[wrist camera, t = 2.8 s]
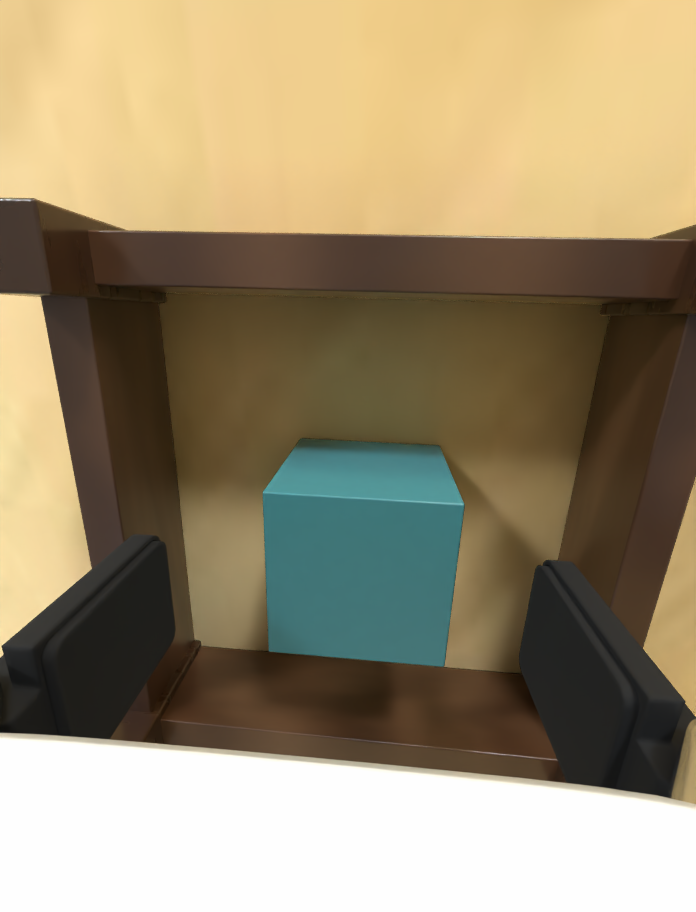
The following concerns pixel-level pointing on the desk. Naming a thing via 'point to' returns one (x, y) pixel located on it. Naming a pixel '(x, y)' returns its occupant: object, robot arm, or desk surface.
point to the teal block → (362, 551)
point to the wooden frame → (375, 277)
